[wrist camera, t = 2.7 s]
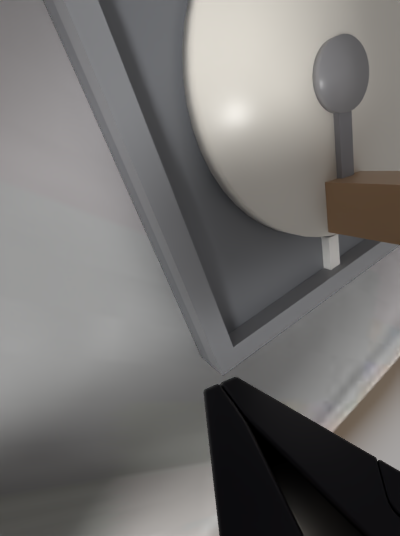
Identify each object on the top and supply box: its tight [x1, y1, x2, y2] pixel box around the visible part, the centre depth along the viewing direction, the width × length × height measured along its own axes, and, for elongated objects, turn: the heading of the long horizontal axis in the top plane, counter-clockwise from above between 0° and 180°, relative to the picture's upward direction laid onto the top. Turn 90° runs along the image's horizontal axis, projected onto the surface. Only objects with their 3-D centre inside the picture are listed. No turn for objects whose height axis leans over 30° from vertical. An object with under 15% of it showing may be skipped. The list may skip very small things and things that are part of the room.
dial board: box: [43, 0, 399, 375], centre depth 17 cm, size 20×20×2 cm
